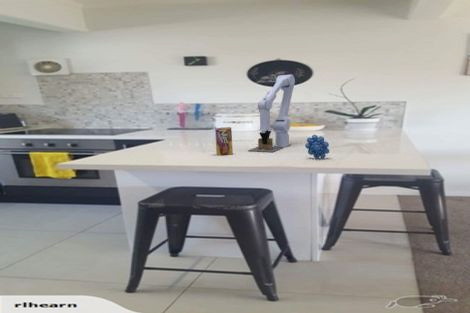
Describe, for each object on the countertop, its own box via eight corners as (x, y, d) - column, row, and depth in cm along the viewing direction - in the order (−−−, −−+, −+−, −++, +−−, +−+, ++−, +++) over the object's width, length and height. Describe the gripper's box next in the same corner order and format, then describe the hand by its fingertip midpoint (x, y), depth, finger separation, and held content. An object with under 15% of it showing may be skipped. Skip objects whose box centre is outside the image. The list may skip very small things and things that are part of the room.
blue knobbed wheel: (304, 160, 163) (304, 135, 161) (305, 157, 170) (305, 134, 168) (328, 160, 160) (329, 135, 158) (329, 157, 166) (329, 134, 164)
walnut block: (259, 148, 201) (259, 138, 199) (272, 148, 198) (272, 138, 197) (258, 149, 197) (258, 139, 196) (271, 149, 195) (271, 139, 194)
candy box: (231, 153, 191) (230, 126, 188) (233, 154, 187) (231, 127, 184) (216, 154, 189) (214, 127, 186) (217, 155, 185) (215, 128, 182)
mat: (259, 147, 209) (259, 146, 209) (283, 148, 201) (283, 147, 201) (247, 151, 195) (247, 150, 195) (272, 152, 187) (272, 151, 187)
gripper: (269, 121, 187) (270, 145, 189) (273, 119, 201) (274, 141, 203) (257, 122, 189) (258, 145, 191) (262, 119, 202) (262, 141, 205)
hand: (265, 143), depth 197 cm, fingers open, 4 cm apart
